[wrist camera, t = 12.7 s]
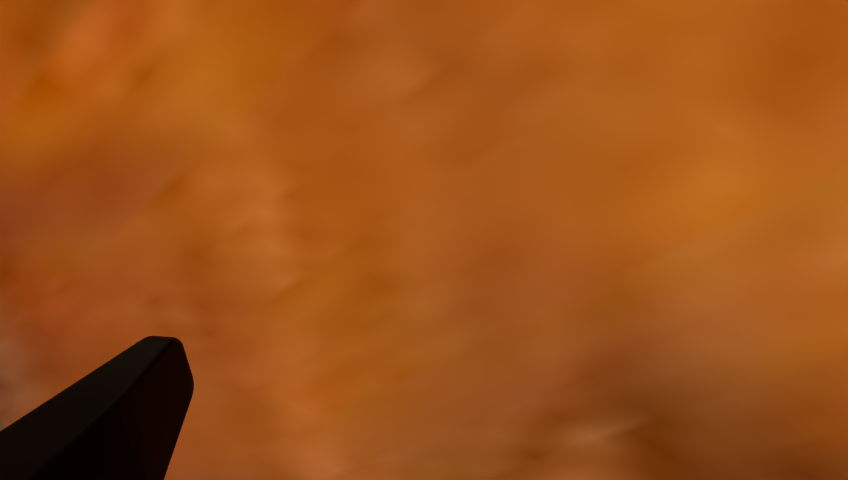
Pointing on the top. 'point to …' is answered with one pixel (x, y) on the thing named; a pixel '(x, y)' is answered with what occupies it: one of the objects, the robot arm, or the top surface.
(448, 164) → the top surface
